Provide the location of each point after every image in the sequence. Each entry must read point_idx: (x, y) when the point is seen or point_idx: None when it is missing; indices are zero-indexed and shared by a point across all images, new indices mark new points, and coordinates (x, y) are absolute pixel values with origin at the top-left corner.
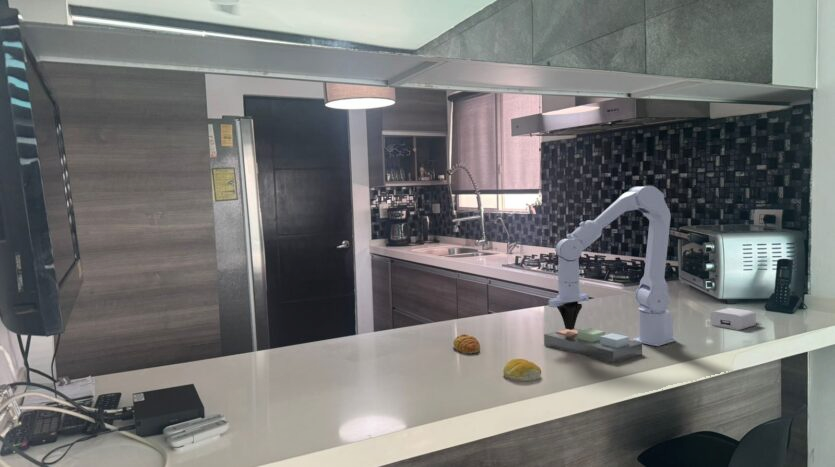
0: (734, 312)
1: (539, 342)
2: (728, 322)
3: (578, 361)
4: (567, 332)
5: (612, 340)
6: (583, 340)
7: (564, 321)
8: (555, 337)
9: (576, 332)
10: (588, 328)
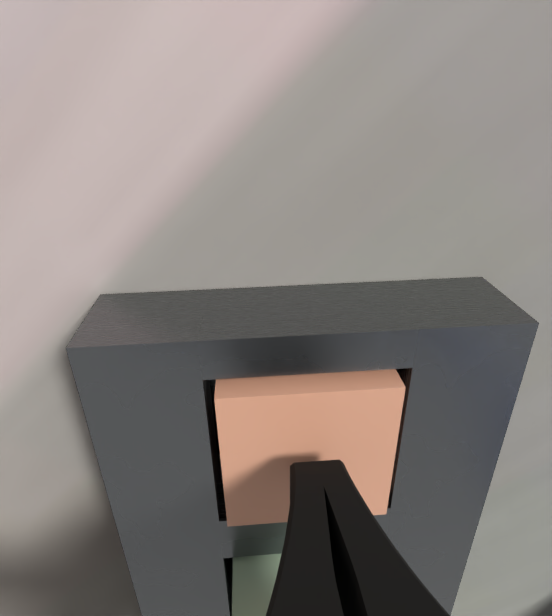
0: None
1: (109, 209)
2: None
3: (60, 611)
4: (275, 468)
5: None
6: (219, 605)
7: (289, 538)
8: (102, 466)
9: None
10: None
